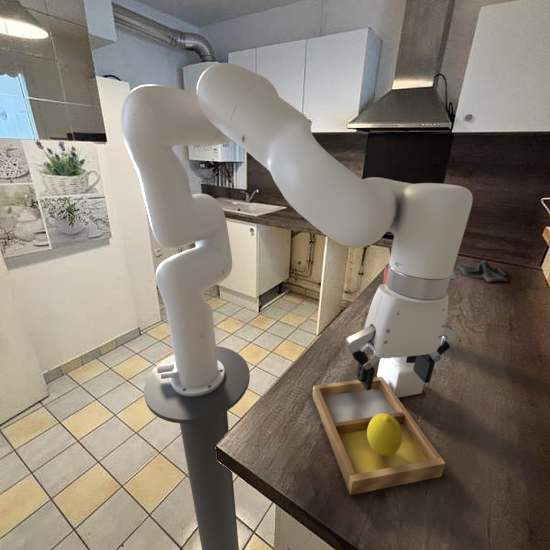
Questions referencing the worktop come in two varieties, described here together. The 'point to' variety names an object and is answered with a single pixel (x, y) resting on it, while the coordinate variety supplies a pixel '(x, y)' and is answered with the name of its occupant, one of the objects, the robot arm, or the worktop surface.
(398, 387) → the medicine bottle
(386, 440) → the lemon
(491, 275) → the cloth
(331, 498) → the worktop surface
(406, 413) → the tray
